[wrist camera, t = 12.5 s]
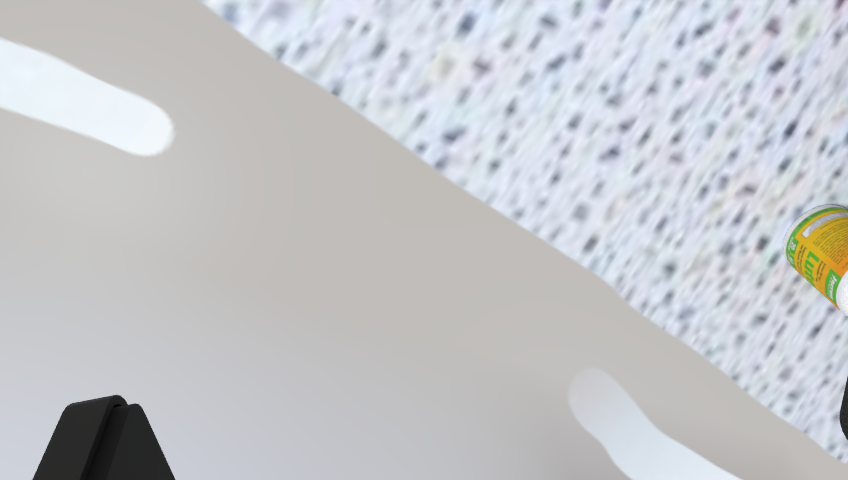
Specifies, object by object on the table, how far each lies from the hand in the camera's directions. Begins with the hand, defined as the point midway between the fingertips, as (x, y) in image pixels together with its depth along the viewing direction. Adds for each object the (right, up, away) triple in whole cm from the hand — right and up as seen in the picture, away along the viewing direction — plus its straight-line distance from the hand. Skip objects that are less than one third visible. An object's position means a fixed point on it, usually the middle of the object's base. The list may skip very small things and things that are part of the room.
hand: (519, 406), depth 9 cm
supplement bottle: (+27, +3, +43) cm, 51 cm away
